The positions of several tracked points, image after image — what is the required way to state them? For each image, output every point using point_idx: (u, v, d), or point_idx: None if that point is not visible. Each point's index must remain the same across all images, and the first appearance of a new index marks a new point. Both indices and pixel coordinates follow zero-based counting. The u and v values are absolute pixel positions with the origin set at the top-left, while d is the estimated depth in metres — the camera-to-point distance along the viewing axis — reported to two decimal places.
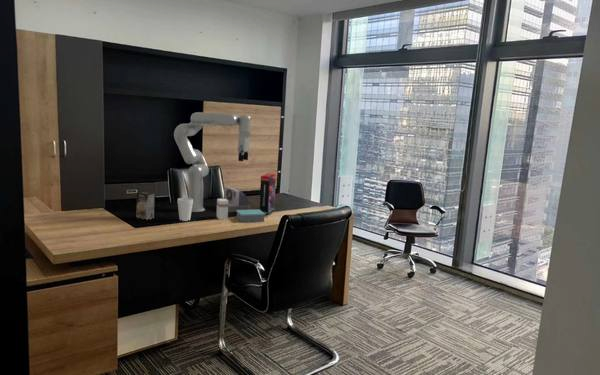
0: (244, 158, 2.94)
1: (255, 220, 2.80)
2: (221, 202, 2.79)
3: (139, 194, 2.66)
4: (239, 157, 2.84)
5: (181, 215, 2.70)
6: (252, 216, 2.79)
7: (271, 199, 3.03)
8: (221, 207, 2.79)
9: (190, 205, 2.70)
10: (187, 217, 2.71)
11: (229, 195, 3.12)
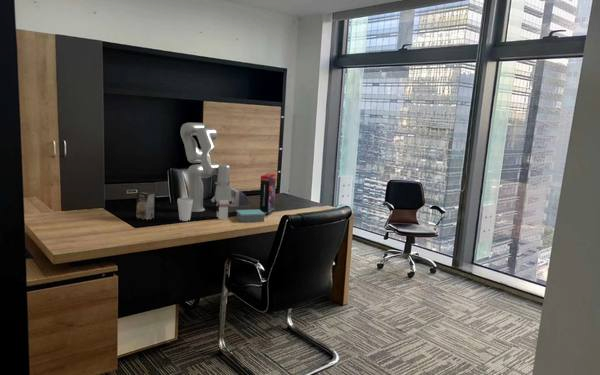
0: None
1: (255, 220, 2.80)
2: (221, 202, 2.79)
3: (139, 194, 2.66)
4: None
5: (181, 215, 2.70)
6: (252, 216, 2.79)
7: (271, 199, 3.03)
8: (221, 207, 2.79)
9: (190, 205, 2.70)
10: (187, 217, 2.71)
11: None
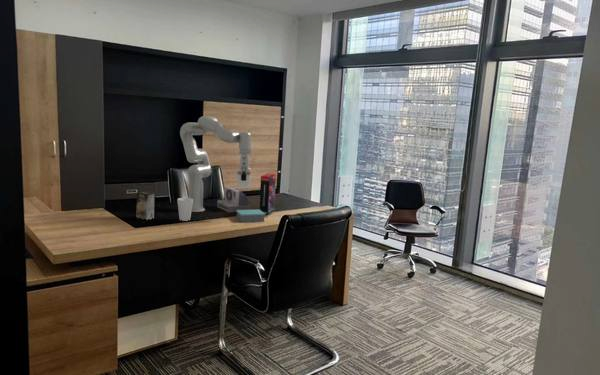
0: None
1: (255, 220, 2.80)
2: (250, 169, 2.79)
3: (139, 194, 2.66)
4: None
5: (181, 215, 2.70)
6: (252, 216, 2.79)
7: (271, 199, 3.03)
8: None
9: (190, 205, 2.70)
10: (187, 217, 2.71)
11: (229, 195, 3.11)
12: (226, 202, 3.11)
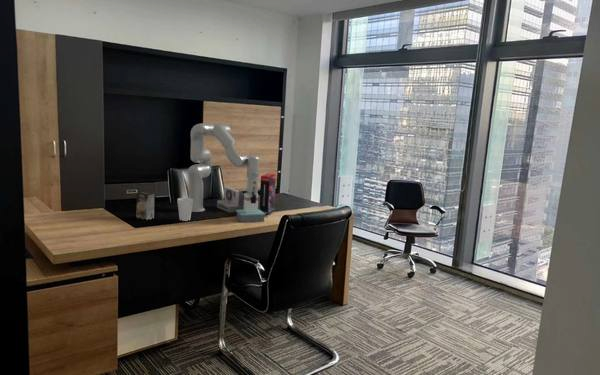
0: None
1: (255, 220, 2.80)
2: None
3: (139, 194, 2.66)
4: None
5: (181, 215, 2.70)
6: (252, 216, 2.79)
7: (271, 199, 3.03)
8: None
9: (190, 205, 2.70)
10: (187, 217, 2.71)
11: (229, 195, 3.11)
12: (226, 202, 3.10)
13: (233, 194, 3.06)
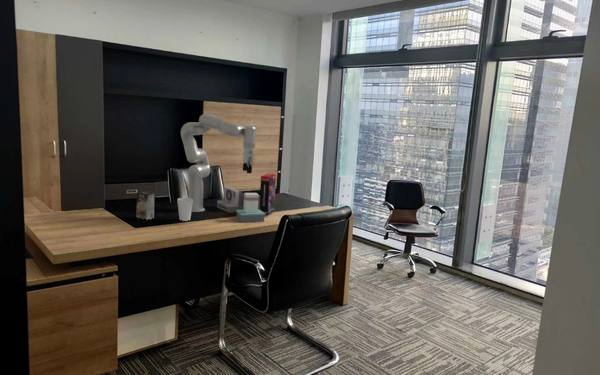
0: None
1: (255, 220, 2.80)
2: None
3: (139, 194, 2.66)
4: None
5: (181, 215, 2.70)
6: (252, 216, 2.79)
7: (271, 199, 3.03)
8: None
9: (190, 205, 2.70)
10: (187, 217, 2.71)
11: (229, 195, 3.11)
12: (226, 202, 3.10)
13: (233, 194, 3.06)
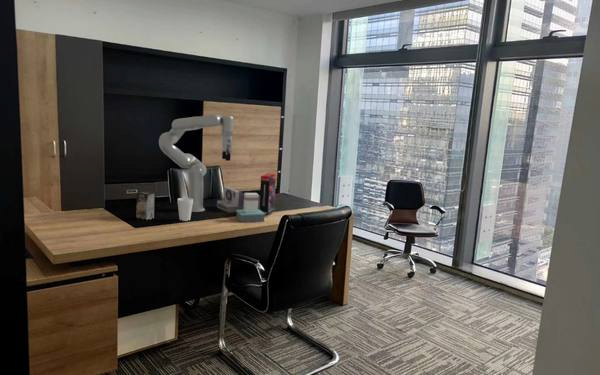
0: None
1: (255, 220, 2.80)
2: None
3: (139, 194, 2.66)
4: None
5: (181, 215, 2.70)
6: (252, 216, 2.79)
7: (271, 199, 3.03)
8: None
9: (190, 205, 2.70)
10: (187, 217, 2.71)
11: (229, 195, 3.10)
12: (226, 202, 3.10)
13: (233, 194, 3.06)
